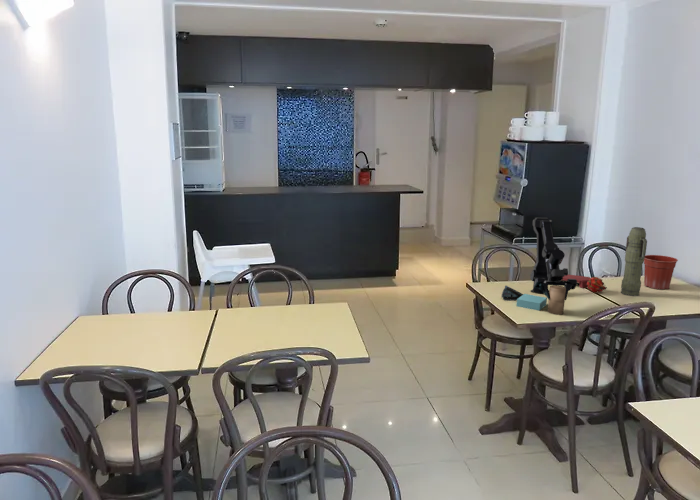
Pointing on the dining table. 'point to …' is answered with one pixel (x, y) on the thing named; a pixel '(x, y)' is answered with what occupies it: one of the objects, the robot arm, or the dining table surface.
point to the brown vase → (556, 300)
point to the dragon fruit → (596, 285)
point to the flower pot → (658, 271)
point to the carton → (578, 280)
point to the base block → (531, 302)
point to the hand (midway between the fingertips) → (557, 299)
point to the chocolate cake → (510, 294)
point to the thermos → (634, 261)
